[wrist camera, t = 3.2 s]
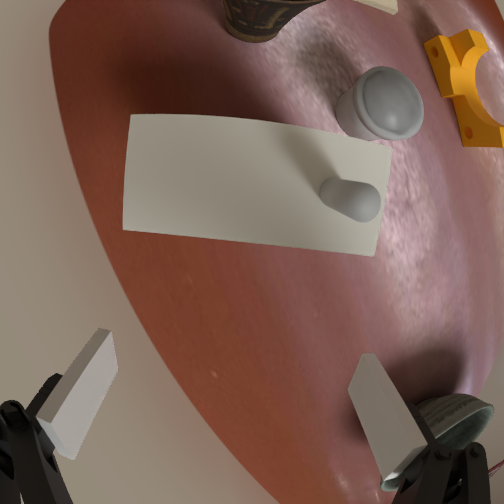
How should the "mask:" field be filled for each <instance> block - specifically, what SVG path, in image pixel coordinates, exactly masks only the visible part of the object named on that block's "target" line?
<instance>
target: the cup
mask: <svg viewBox="0 0 504 504" xmlns="http://www.w3.org/2000/svg"><path fill="white" fill-rule="evenodd" d="M222 1H223V4H224V7H225V13H226V17H225V25H226V28H227V30H228V31H229V32H230V33H231V34H232V35H233V36H234V37H236V38H238V39H240V40H243V41H246V42H252V43H261V42H266V41H269V40H271V39H273V38H274V37H275V36H276V35H277V34H278V33H279V31H280V30H281V29H282V28H283V26H284V25H285V24H287V23H288V22H289V21H290V20H291V19H292V18H293V17H295V16H296V15H297V14H299V13H300V12H302V11H303V10H305V9H307V8H308V7H310V6H313V5H316V4H319V3H321V2H323V1H326V0H222Z"/></svg>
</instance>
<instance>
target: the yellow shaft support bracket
mask: <svg viewBox="0 0 504 504" xmlns="http://www.w3.org/2000/svg"><path fill="white" fill-rule="evenodd" d="M423 45H424V47H425V50H426V52H427V55H428V57H429V60H430V63H431V66H432V68H433V71H434V74H435V77H436V80H437V84H438V87H439V90H440V94H441V97H447V98H452V99H453V103H454V107H455V111H456V115H457V119H458V124H459V128H460V133H461V138H462V144H463V147H499V148H504V126H503V125H501V124H499V123H497V122H496V121H495V120H494V119H493V118H491V116H490V115H489V114H488V113H487V111H486V110H485V108H484V107H483V105H482V103H481V101H480V99H479V96H478V93H477V89H476V84H475V70H476V65H477V62H478V60H479V58H480V57H481V56H482V54H484V53H485V52H487V51H489V48H488V46H487V43H486V41H485V39H484V36H483V34H482V33H479V32H476V31H473V30H470V29H466V30H464V31H462V32H460V33H458V34H455V35H453V36H451V37H446V36H441V35H437V36H436V37H434V38H432V39H430V40H428V41H426V42H425V43H423Z"/></svg>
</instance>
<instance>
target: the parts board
mask: <svg viewBox="0 0 504 504" xmlns="http://www.w3.org/2000/svg"><path fill="white" fill-rule="evenodd" d="M354 1H357V2H360V3H363V4H366V5H369V6H372V7H375V8H377V9H380V10H383V11H385V12H388V13H390V14H393V15H395V14H396V13H397V12H398V7H397V0H354Z"/></svg>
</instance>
